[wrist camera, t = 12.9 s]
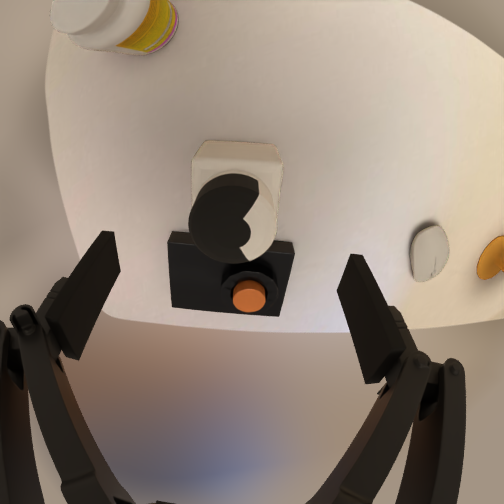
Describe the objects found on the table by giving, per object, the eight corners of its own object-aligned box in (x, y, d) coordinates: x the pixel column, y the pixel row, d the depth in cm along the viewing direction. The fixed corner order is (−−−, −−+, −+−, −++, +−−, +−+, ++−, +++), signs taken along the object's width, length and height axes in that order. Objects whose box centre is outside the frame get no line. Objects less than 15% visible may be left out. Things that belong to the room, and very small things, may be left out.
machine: (175, 295, 38) (169, 316, 35) (171, 231, 32) (163, 250, 29) (277, 304, 39) (280, 325, 36) (292, 242, 33) (297, 262, 30)
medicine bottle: (203, 204, 31) (181, 272, 21) (204, 139, 27) (175, 178, 17) (269, 208, 31) (279, 278, 21) (276, 143, 27) (293, 185, 17)
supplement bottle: (184, -4, 18) (140, -53, 7) (174, 55, 22) (119, 40, 11) (121, 1, 17) (49, -28, 7) (112, 57, 21) (32, 57, 10)
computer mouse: (410, 282, 37) (418, 296, 35) (404, 228, 32) (414, 241, 30) (442, 268, 36) (451, 280, 34) (441, 213, 31) (452, 224, 29)
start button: (232, 301, 34) (231, 311, 32) (234, 278, 32) (234, 287, 30) (262, 304, 34) (262, 313, 33) (267, 281, 32) (267, 290, 31)
